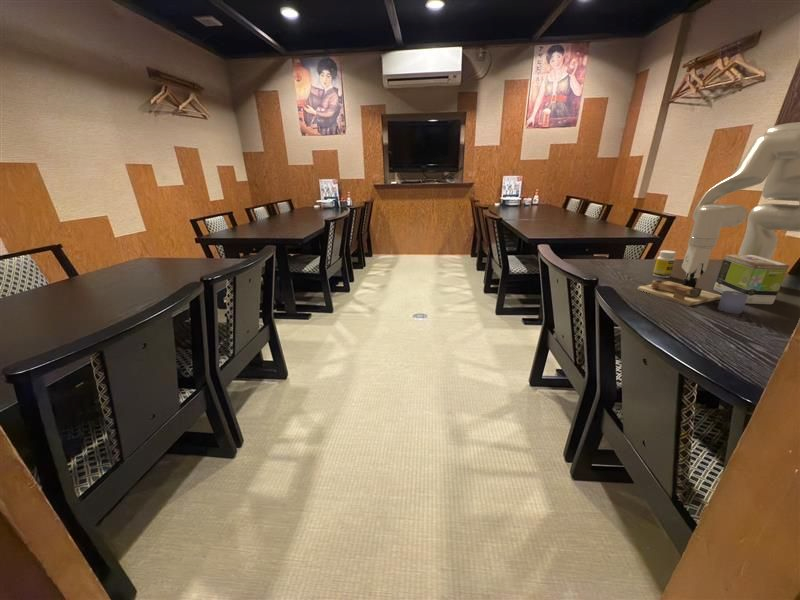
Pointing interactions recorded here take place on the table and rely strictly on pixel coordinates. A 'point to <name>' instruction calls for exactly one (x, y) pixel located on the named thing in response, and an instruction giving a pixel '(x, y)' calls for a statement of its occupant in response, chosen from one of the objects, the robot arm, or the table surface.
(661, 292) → the board
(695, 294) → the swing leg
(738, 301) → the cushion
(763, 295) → the tea box
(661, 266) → the supplement bottle
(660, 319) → the table surface
